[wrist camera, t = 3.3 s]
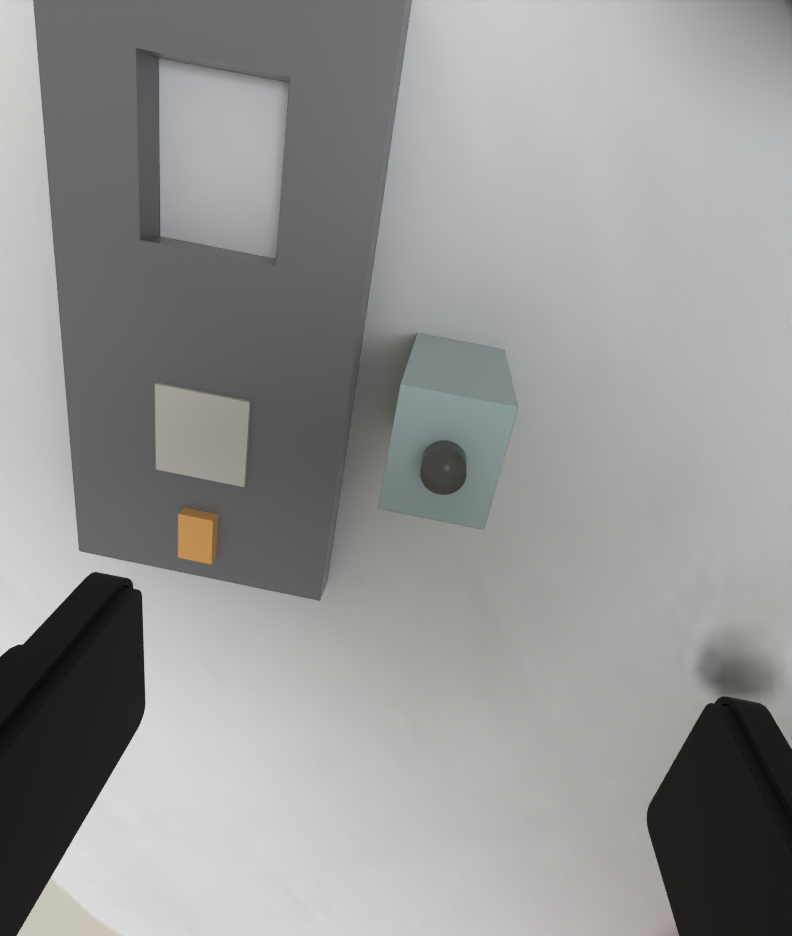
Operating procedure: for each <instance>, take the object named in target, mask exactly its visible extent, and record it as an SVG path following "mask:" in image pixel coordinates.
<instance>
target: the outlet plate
mask: <svg viewBox="0 0 792 936" xmlns="http://www.w3.org/2000/svg"><path fill="white" fill-rule="evenodd" d="M33 2H34V14H35V26H36V38H37V50H38V62H39V74H40V86H41V98H42V110H43V122H44V134H45V146H46V158H47V170H48V182H49V194H50V206H51V218H52V230H53V242H54V254H55V266H56V278H57V290H58V302H59V314H60V326H61V338H62V350H63V362H64V374H65V386H66V398H67V410H68V422H69V434H70V446H71V458H72V470H73V482H74V494H75V506H76V518H77V530H78V542H79V551H82V552H86V553H91V554H96V555H101V556H106V557H111V558H115V559H120V560H125V561H130V562H135V563H140V564H145V565H149V566H154V567H159V568H164V569H169V570H174V571H179V572H183V573H188V574H193V575H198V576H203V577H208V578H212V579H217V580H222V581H227V582H232V583H237V584H242V585H246V586H251V587H256V588H261V589H266V590H271V591H275V592H280V593H285V594H290V595H295V596H300V597H305V598H309V599H314V600H319V601H320V600H321V597H322V594H323V591H324V589H325V586H326V583H327V579H328V572H329V565H330V558H331V551H332V545H333V538H334V531H335V524H336V517H337V510H338V503H339V496H340V490H341V483H342V476H343V469H344V462H345V455H346V448H347V441H348V435H349V428H350V421H351V414H352V407H353V400H354V393H355V387H356V380H357V373H358V366H359V359H360V352H361V345H362V338H363V332H364V325H365V318H366V311H367V304H368V297H369V290H370V283H371V277H372V270H373V263H374V256H375V249H376V242H377V235H378V228H379V222H380V215H381V208H382V201H383V194H384V187H385V180H386V173H387V167H388V160H389V153H390V146H391V139H392V132H393V125H394V119H395V112H396V105H397V98H398V91H399V84H400V77H401V70H402V64H403V57H404V50H405V43H406V36H407V29H408V22H409V15H410V9H411V2H412V0H33ZM158 58H163V59H168V60H173V61H179V62H184V63H189V64H195V65H200V66H205V67H211V68H216V69H221V70H227V71H232V72H237V73H243V74H248V75H254V76H259V77H264V78H270V79H275V80H280V81H286V82H290V83H289V96H288V109H287V122H286V136H285V149H284V162H283V176H282V189H281V202H280V215H279V229H278V242H277V255H276V259H272V258H267V257H262V256H257V255H252V254H246V253H241V252H236V251H231V250H226V249H221V248H216V247H210V246H205V245H200V244H195V243H190V242H185V241H179V240H174V239H169V238H164V237H160V196H159V71H158Z"/></svg>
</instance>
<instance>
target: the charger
mask: <svg viewBox="0 0 792 936" xmlns="http://www.w3.org/2000/svg"><path fill="white" fill-rule="evenodd" d="M517 409H518V406H517V401H516V397H515V393H514V389H513V384H512V380H511V376H510V371H509V367H508V363H507V359H506V354H505V350H503V349H498V348H492V347H487V346H482V345H477V344H472V343H467V342H462V341H457V340H452V339H446V338H441V337H436V336H431V335H426V334H421V333H417V336H416V339H415V342H414V345H413V348H412V351H411V354H410V357H409V360H408V363H407V366H406V369H405V372H404V375H403V378H402V381H401V384H400V390H399V396H398V401H397V407H396V412H395V418H394V423H393V429H392V434H391V440H390V445H389V451H388V456H387V462H386V467H385V473H384V479H383V484H382V490H381V495H380V501H379V506H378V508H379V509H384V510H388V511H393V512H398V513H403V514H408V515H413V516H418V517H423V518H428V519H433V520H438V521H443V522H448V523H452V524H457V525H462V526H467V527H472V528H477V529H482V530H484V528H485V524H486V520H487V517H488V513H489V510H490V506H491V502H492V499H493V495H494V492H495V488H496V484H497V481H498V477H499V474H500V470H501V466H502V463H503V459H504V456H505V452H506V449H507V445H508V441H509V438H510V434H511V431H512V427H513V423H514V420H515V416H516V413H517Z"/></svg>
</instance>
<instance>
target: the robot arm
mask: <svg viewBox="0 0 792 936" xmlns="http://www.w3.org/2000/svg"><path fill="white" fill-rule="evenodd" d="M144 710H145V681H144V648H143V616H142V594H141V592H140V590H136V589H133V583H132V581H131V580H130V579H128V578H123V577H118V576H113V575H108V574H103V573H98V572H94V573H91V574H90V575H89V576H87V577H86V578H85V579H84V580H83V581H82V583H81V584H80V585H79V586H78V587H77V588H76V589H75V590H74V591H73V592H72V593H71V594H70V595H69V596H68V597H67V598H66V600H65V601H64V602H63V603H62V604H61V605H60V606H59V607H58V608H57V609H56V610H55V611H54V612H53V613H52V614H51V616H50V617H49V618H48V619H47V620H46V621H45V622H44V623H43V624H42V625H41V626H40V627H39V628H38V629H37V630H36V631H35V633H34V634H33V635H32V636H31V637H30V638H29V639H28V640H27V641H26V642H25V643H24V644H23V645H17V646H15V647H12V648H10V649H9V650H8V651H7V652H5V653H4V654H3V655H2V656H1V657H0V936H17V934H18V932H19V930H20V929H21V927H22V925H23V924H24V922H25V920H26V918H27V917H28V915H29V913H30V912H31V910H32V908H33V907H34V905H35V903H36V901H37V900H38V898H39V896H40V895H41V893H42V891H43V889H44V888H45V886H46V884H47V883H48V881H49V879H50V877H51V876H52V874H53V872H54V871H55V869H56V867H57V866H58V864H59V862H60V860H61V859H62V857H63V855H64V854H65V852H66V850H67V848H68V847H69V845H70V843H71V842H72V840H73V838H74V836H75V835H76V833H77V831H78V830H79V828H80V826H81V825H82V823H83V821H84V819H85V818H86V816H87V814H88V813H89V811H90V809H91V807H92V806H93V804H94V802H95V801H96V799H97V797H98V795H99V794H100V792H101V790H102V789H103V787H104V785H105V784H106V782H107V780H108V778H109V777H110V775H111V773H112V772H113V770H114V768H115V766H116V765H117V763H118V761H119V760H120V758H121V756H122V754H123V753H124V751H125V749H126V748H127V746H128V744H129V743H130V741H131V739H132V737H133V736H134V734H135V732H136V731H137V729H138V727H139V725H140V723H141V720H142V717H143V714H144ZM647 826H648V831H649V834H650V838H651V841H652V845H653V848H654V851H655V855H656V858H657V862H658V865H659V868H660V872H661V875H662V879H663V882H664V885H665V889H666V892H667V896H668V899H669V902H670V906H671V909H672V913H673V916H674V919H675V923H676V926H677V930H678V933H679V936H792V749H791V748H790V746H789V744H788V742H787V741H786V739H785V737H784V736H783V734H782V732H781V731H780V729H779V727H778V726H777V724H776V722H775V720H774V719H773V717H772V715H771V714H770V712H769V711H768V709H767V708H766V707H765V706H764V705H762V704H760V703H756V702H751V701H746V700H741V699H736V698H731V697H721V698H719V699H718V700H717V701H716V702H715V703H714V704H713V703H710V704H708V705H706V707H705V708H704V710H703V711H702V713H701V715H700V717H699V718H698V720H697V722H696V724H695V725H694V727H693V729H692V731H691V732H690V734H689V736H688V738H687V739H686V741H685V743H684V745H683V746H682V748H681V750H680V752H679V753H678V755H677V757H676V759H675V760H674V762H673V764H672V766H671V767H670V769H669V771H668V773H667V775H666V776H665V778H664V780H663V782H662V783H661V785H660V787H659V789H658V790H657V792H656V794H655V796H654V797H653V799H652V801H651V803H650V805H649V807H648V811H647Z"/></svg>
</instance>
